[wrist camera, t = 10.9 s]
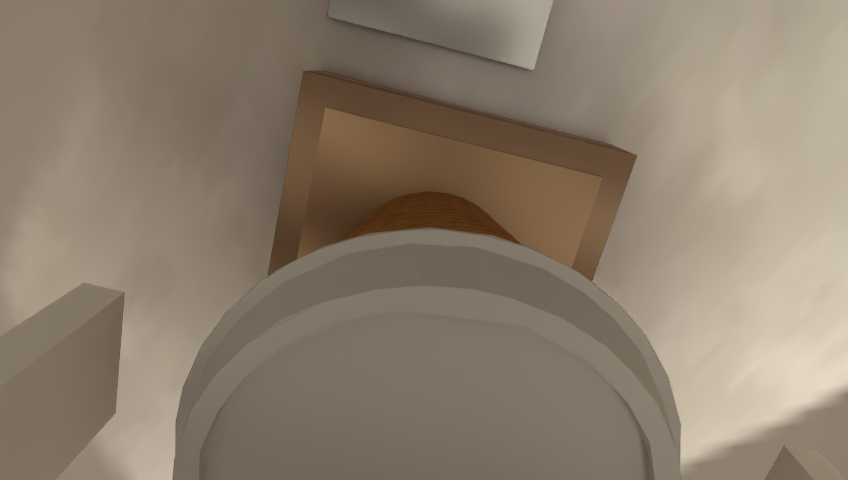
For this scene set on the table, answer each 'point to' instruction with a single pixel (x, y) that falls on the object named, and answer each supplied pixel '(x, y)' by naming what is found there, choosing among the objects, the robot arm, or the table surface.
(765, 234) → the table surface
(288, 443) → the disposable coffee cup
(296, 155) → the walnut base
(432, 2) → the slate coaster
